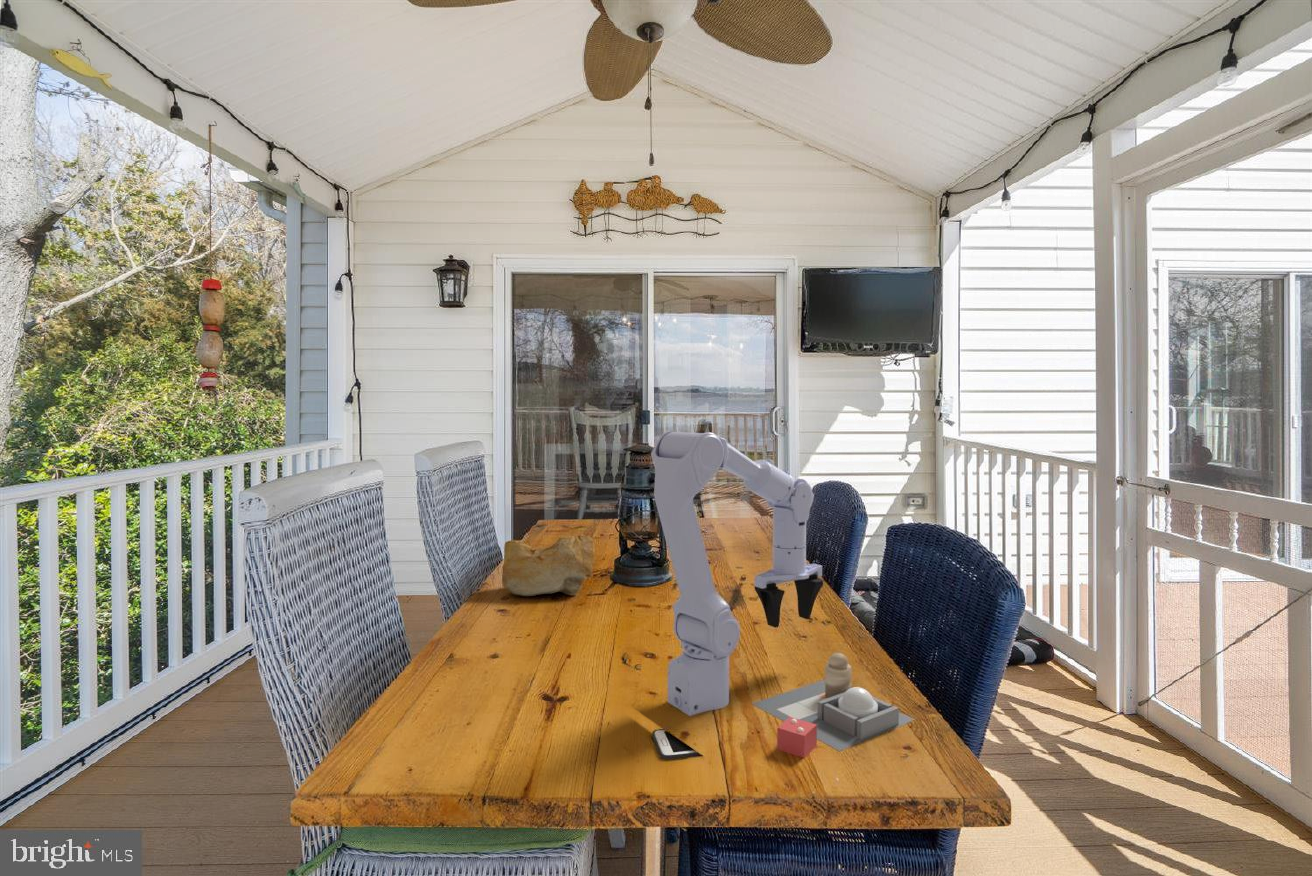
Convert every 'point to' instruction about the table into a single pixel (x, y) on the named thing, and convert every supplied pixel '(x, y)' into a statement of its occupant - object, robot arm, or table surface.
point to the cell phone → (672, 746)
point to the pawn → (837, 675)
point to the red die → (797, 737)
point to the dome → (858, 703)
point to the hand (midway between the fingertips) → (789, 621)
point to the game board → (832, 715)
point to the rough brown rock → (548, 566)
